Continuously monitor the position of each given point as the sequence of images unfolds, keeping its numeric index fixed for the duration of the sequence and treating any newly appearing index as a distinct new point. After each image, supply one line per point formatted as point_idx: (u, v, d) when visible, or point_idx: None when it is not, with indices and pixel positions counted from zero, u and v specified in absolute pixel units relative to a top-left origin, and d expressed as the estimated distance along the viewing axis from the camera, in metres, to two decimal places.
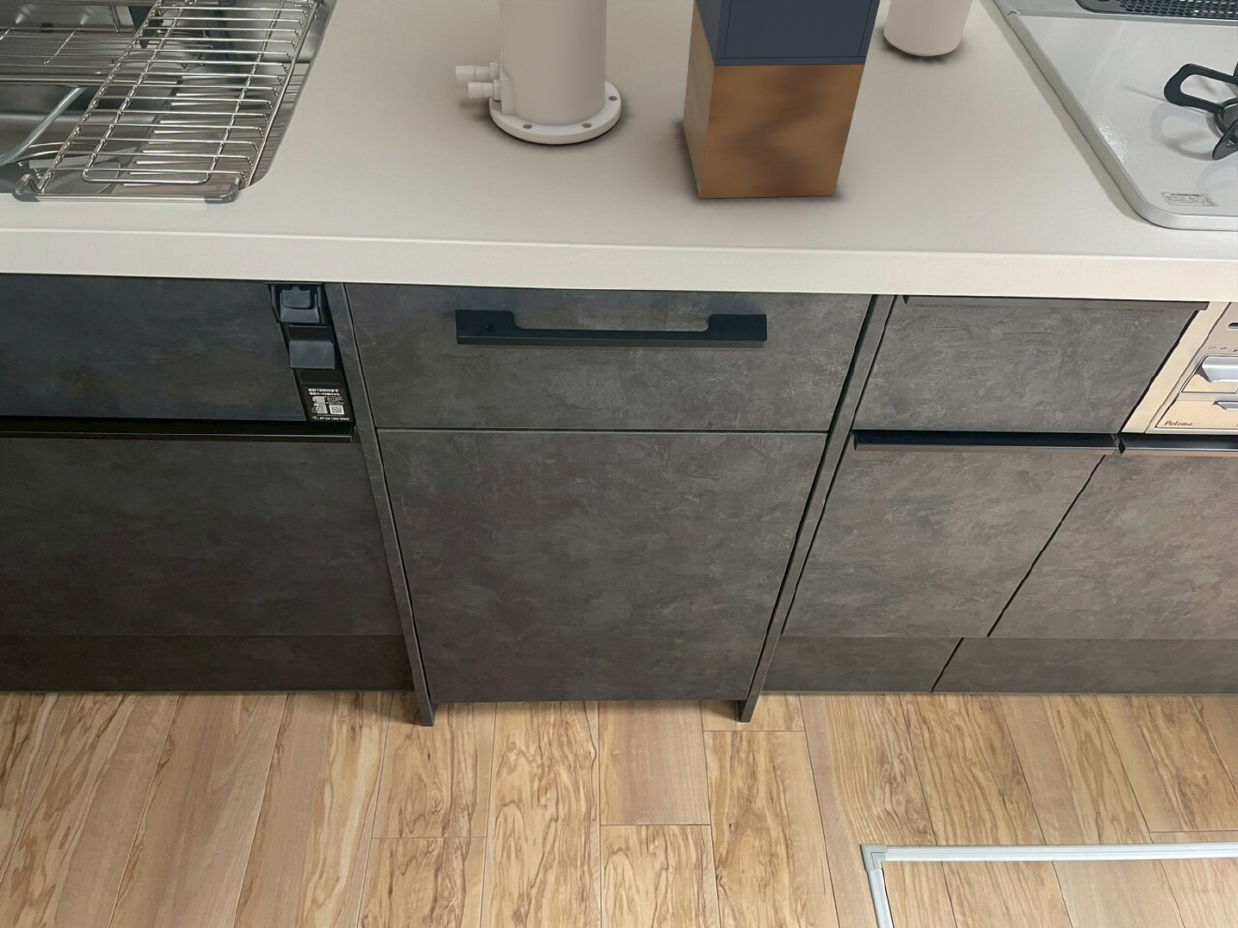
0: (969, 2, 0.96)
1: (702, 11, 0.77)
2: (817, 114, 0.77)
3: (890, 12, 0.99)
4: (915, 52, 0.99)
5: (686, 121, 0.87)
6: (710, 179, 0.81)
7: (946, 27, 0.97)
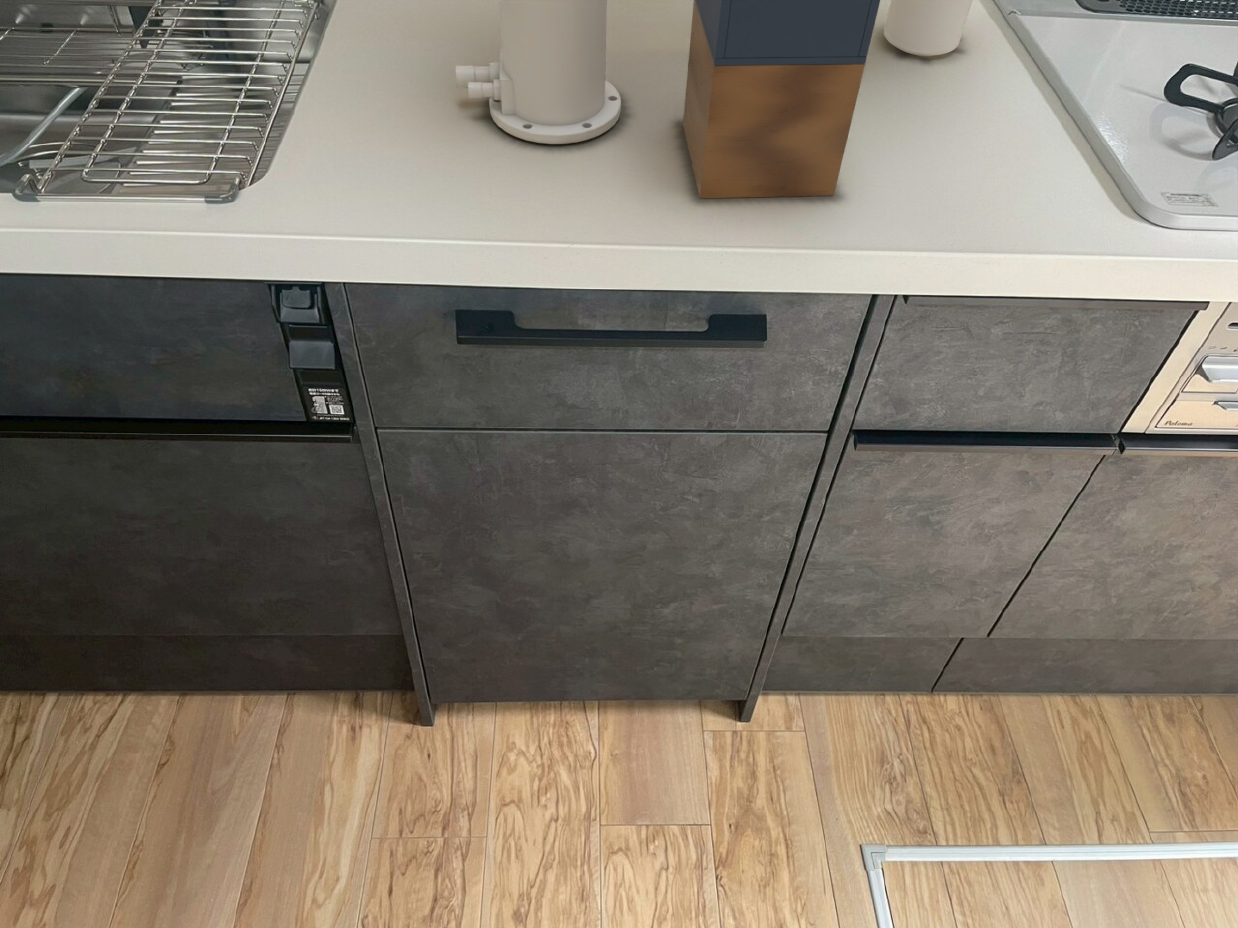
0: (969, 2, 0.96)
1: (702, 11, 0.77)
2: (817, 114, 0.77)
3: (890, 11, 0.99)
4: (915, 52, 0.99)
5: (686, 121, 0.87)
6: (710, 179, 0.81)
7: (946, 27, 0.97)
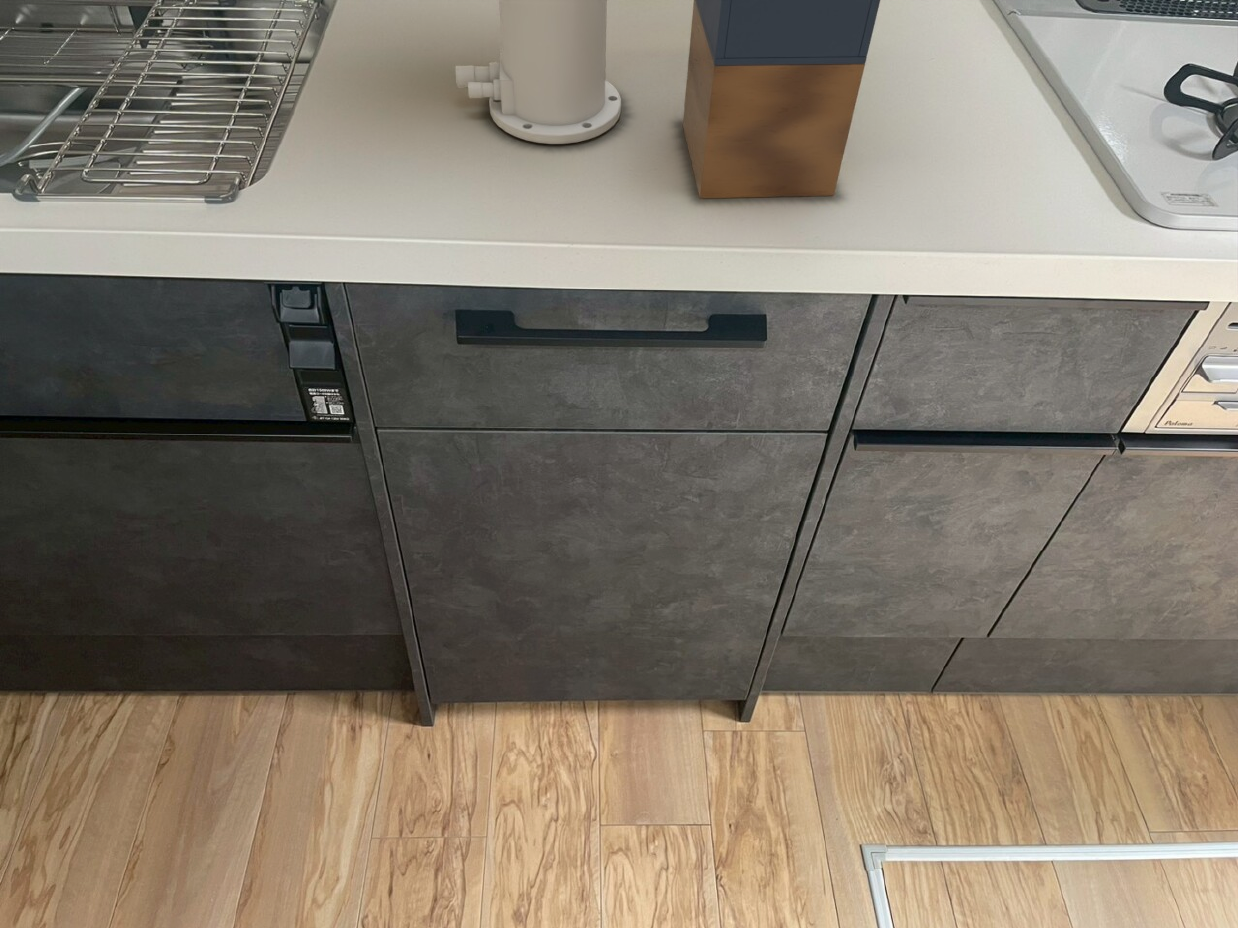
0: None
1: (702, 11, 0.77)
2: (817, 114, 0.77)
3: None
4: None
5: (686, 121, 0.87)
6: (710, 179, 0.81)
7: None
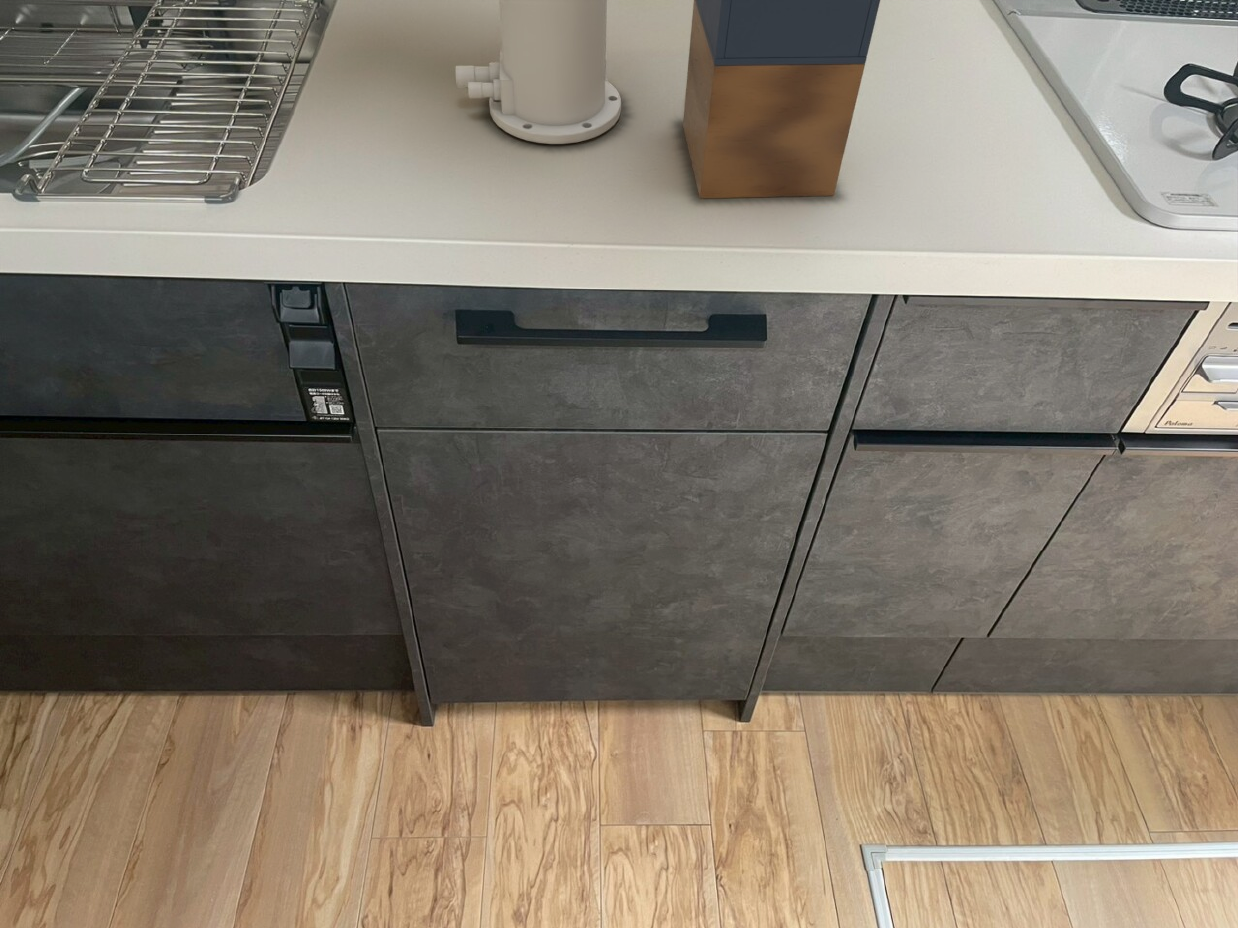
0: None
1: (702, 11, 0.77)
2: (817, 114, 0.77)
3: None
4: None
5: (686, 121, 0.87)
6: (710, 179, 0.81)
7: None
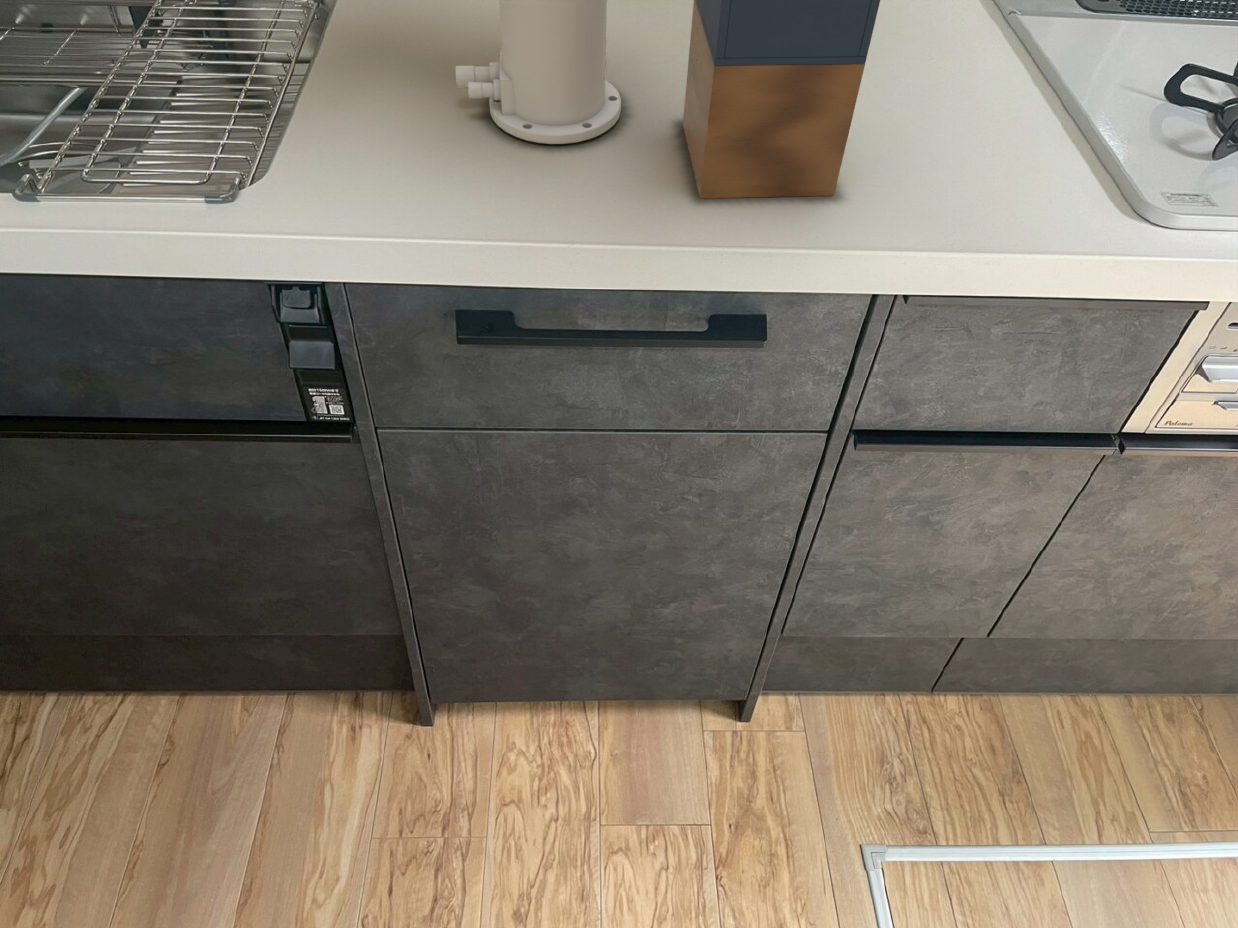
0: None
1: (702, 11, 0.77)
2: (817, 114, 0.77)
3: None
4: None
5: (686, 121, 0.87)
6: (710, 179, 0.81)
7: None
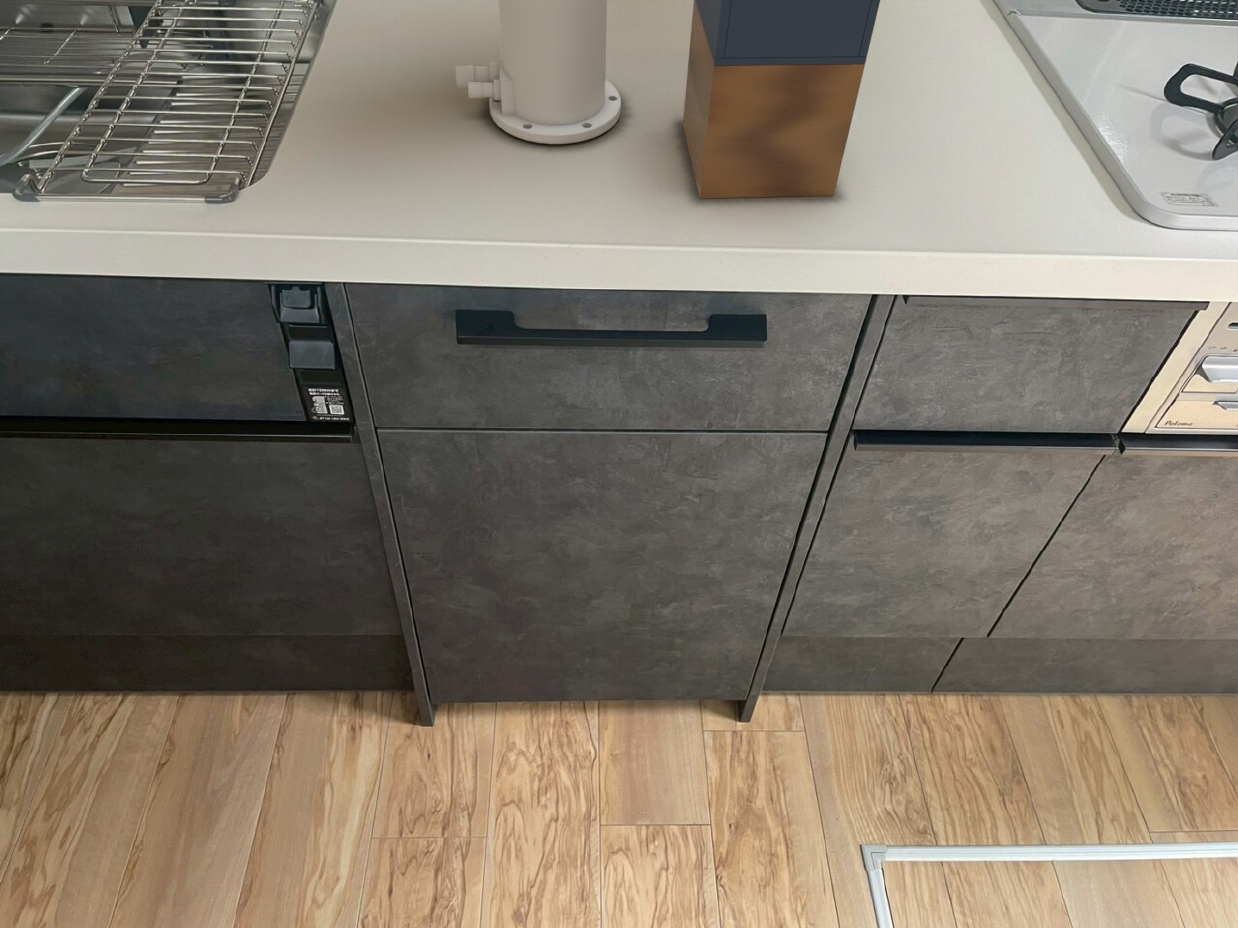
0: None
1: (702, 11, 0.77)
2: (817, 114, 0.77)
3: None
4: None
5: (686, 121, 0.87)
6: (710, 179, 0.81)
7: None
